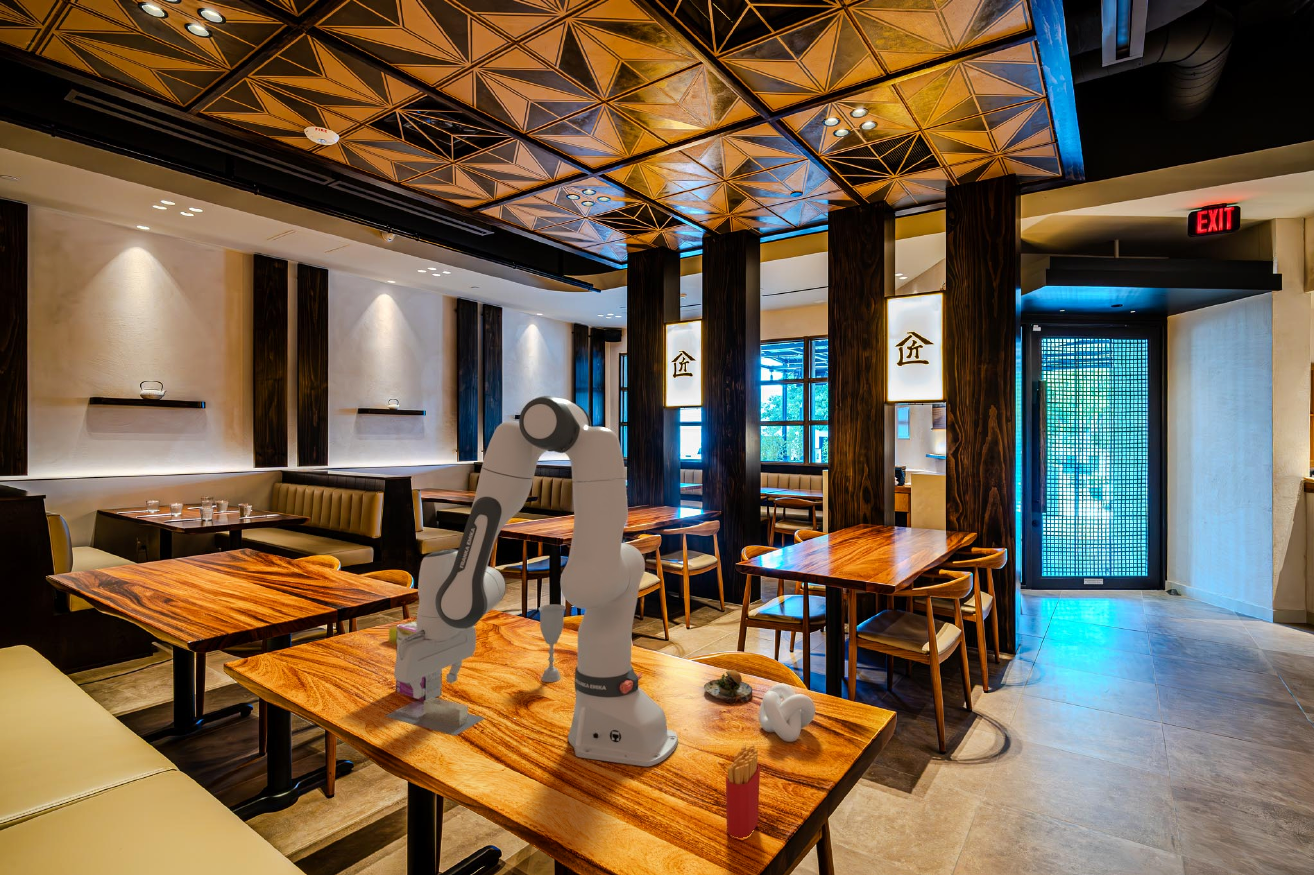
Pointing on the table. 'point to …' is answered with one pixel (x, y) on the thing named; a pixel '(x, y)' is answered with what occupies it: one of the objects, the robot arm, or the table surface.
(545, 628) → the chalice
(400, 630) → the candy bar box
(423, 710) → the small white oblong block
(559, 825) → the table surface
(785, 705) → the white knot sculpture
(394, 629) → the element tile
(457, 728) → the plate
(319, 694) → the table surface
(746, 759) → the french fries
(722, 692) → the burger
